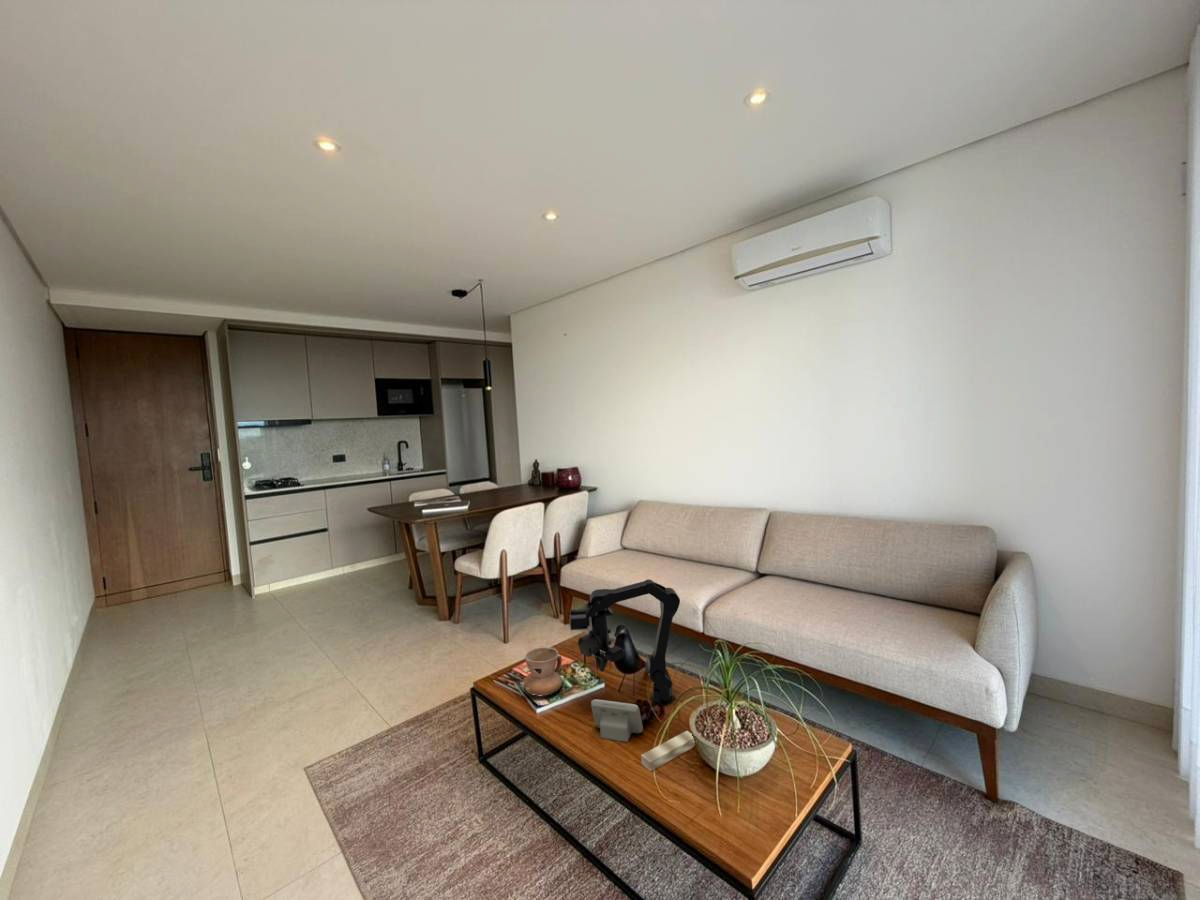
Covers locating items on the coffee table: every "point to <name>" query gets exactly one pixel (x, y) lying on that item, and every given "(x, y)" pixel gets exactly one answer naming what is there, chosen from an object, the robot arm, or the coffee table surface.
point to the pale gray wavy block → (667, 751)
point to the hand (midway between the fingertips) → (602, 671)
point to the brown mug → (542, 671)
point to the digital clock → (616, 719)
